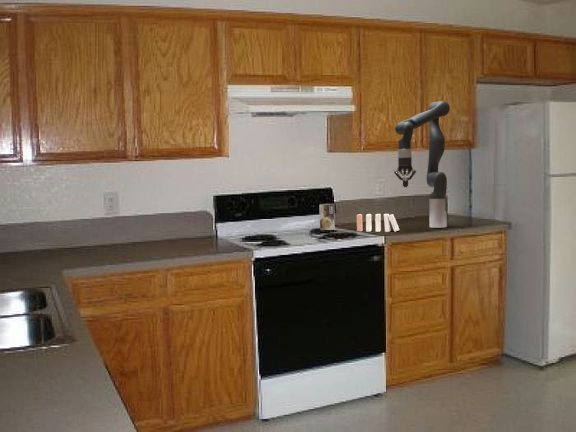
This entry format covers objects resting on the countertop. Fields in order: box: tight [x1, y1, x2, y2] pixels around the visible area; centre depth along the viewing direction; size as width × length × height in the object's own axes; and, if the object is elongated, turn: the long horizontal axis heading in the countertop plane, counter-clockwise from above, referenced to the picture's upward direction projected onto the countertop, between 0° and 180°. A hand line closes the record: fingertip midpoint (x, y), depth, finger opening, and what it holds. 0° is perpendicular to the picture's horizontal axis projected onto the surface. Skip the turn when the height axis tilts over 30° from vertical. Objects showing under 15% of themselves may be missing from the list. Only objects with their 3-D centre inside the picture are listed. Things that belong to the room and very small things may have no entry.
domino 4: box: [383, 213, 391, 233], centre depth 352 cm, size 2×5×10 cm, turn 163°
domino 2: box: [365, 213, 373, 233], centre depth 355 cm, size 2×5×10 cm, turn 163°
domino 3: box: [374, 213, 382, 233], centre depth 353 cm, size 2×5×10 cm, turn 163°
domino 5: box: [388, 213, 400, 233], centre depth 351 cm, size 2×5×10 cm, turn 163°
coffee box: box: [318, 203, 336, 231], centre depth 367 cm, size 9×6×16 cm
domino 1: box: [356, 213, 364, 232], centre depth 357 cm, size 2×5×10 cm, turn 163°
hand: (405, 187), depth 347 cm, fingers closed
